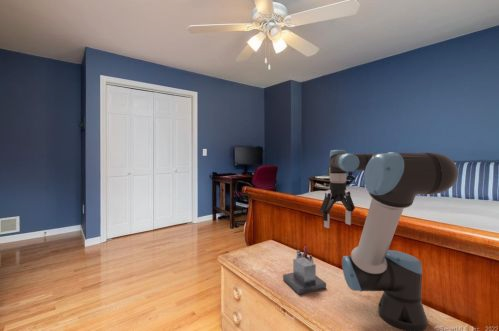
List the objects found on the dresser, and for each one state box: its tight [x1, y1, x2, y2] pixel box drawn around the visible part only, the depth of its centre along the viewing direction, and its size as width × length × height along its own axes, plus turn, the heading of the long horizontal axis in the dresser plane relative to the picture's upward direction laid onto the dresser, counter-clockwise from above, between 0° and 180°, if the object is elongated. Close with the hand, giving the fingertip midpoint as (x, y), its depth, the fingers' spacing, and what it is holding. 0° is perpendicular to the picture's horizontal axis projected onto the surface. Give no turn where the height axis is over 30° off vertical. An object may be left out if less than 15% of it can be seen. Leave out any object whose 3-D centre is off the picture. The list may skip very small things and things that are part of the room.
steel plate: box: [282, 272, 327, 296], centre depth 113 cm, size 14×14×2 cm
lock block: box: [292, 257, 317, 285], centre depth 112 cm, size 9×6×8 cm, turn 22°
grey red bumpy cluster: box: [296, 246, 314, 263], centre depth 133 cm, size 11×10×11 cm
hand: (337, 225), depth 118 cm, fingers open, 13 cm apart
